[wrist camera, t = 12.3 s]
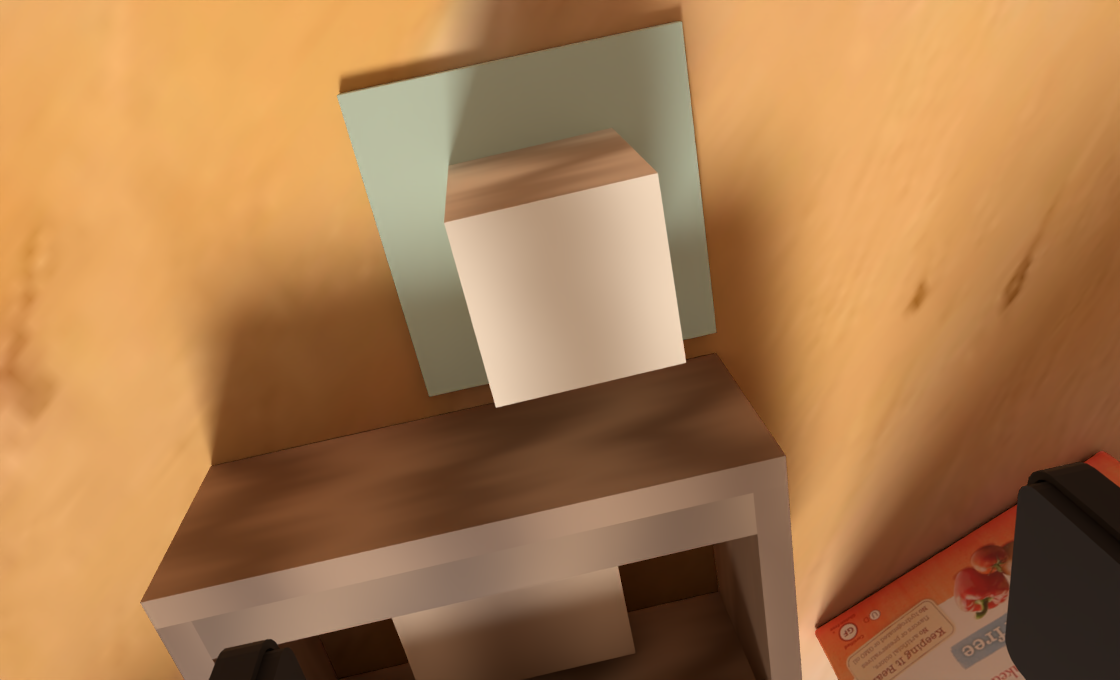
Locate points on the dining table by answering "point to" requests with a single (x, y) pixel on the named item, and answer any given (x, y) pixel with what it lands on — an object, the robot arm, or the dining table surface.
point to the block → (564, 265)
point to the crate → (502, 541)
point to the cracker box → (939, 612)
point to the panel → (510, 124)
